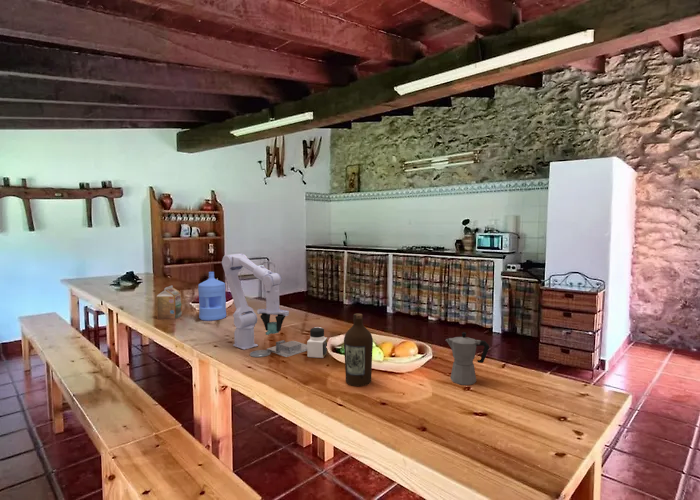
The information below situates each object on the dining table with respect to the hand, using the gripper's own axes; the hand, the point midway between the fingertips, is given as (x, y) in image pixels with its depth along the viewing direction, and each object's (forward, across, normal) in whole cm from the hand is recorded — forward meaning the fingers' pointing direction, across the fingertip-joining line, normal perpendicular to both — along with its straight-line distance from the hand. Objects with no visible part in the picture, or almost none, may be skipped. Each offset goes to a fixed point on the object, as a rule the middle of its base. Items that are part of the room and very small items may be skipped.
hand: (273, 330), depth 184 cm
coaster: (+10, -5, -3) cm, 12 cm away
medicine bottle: (+10, +20, +3) cm, 23 cm away
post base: (+10, +5, +6) cm, 13 cm away
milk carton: (+11, -93, +42) cm, 103 cm away
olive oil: (+10, +46, -21) cm, 51 cm away
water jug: (+11, -67, +49) cm, 83 cm away
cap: (+1, 0, -1) cm, 2 cm away
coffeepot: (+10, +83, -9) cm, 84 cm away
